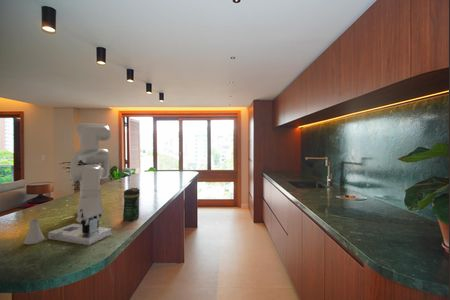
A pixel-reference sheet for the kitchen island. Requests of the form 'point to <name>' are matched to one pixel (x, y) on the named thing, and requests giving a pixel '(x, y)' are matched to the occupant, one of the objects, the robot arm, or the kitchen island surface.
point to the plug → (92, 225)
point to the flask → (34, 233)
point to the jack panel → (78, 234)
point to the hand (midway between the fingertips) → (90, 230)
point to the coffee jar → (131, 204)
